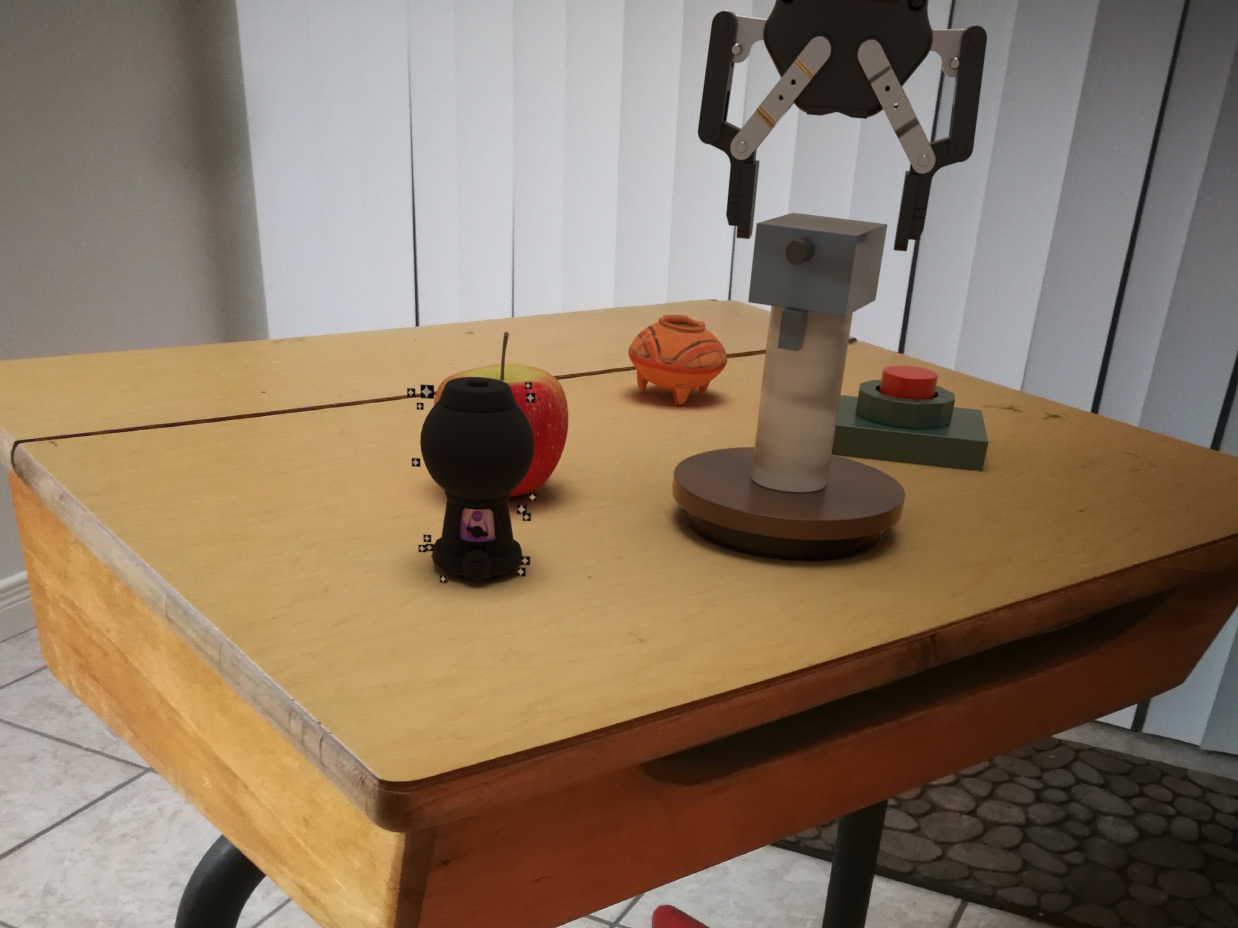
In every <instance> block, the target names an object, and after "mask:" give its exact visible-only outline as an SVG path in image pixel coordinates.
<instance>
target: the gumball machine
mask: <svg viewBox="0 0 1238 928" xmlns="http://www.w3.org/2000/svg"><path fill="white" fill-rule="evenodd" d="M419 387H420V399H426V400H427V399H430V400H435V385H434V384H420V386H419ZM525 389H532V382H525ZM406 395H407V397H408V398H410V397H411V398H416V388H415V387H414V388H413V387H412V388H411V387H407V388H406ZM535 395H536V393H526V402H531V403H535ZM416 410H417V411H418V410H419V411H424V410H425V404H424V402H416ZM419 445H420V453H421V457H422V459H423V462H424V464H425V467H426V470H427V472H428V474H429V476H430V477H431V479H432V480H433V481H434V482H435V483H436V484H437V485H438V486H439V487H440V488H441V489H442V490H443V491H444V494H445V497H446V504H445V509H444V517H443V522H442V531H441V536H440V537H439V538H437V539H436V540H435V542H434V543H432V534H422V535H423V536H422V537H423V540H422V541H423V543H425V544H417V545H418V546H417V547H418V548H417V550H418V553H427V552H431V559H432V562H433V564H434V565H435V566H437V567H438V568H439V569H441V570H443V571H446V572H448V573H451V574H456V575H460V576H463V577H464V578H466V579H469V580H477V581H478V580H480V581H481V580H487V579H488V578H490V577H492V576H493V577H494V576H499V575H500V576H501V575H504V574H507V573H510V572H513V571H515V570H516V577H526V575H527V567H521V566H531V555H530V556H529V555H528V556H527V555H525V556H524V555H523V550H522V546H521V544H520V542H518V541H517V540H516V539H515V538H514V533H513V526H512V519H511V513H510V512H511V511H510V505H509V499H510V497H509V496H510V492H511V491H513V490H514V489H515V488H516V487H517V486H518V485H519V484H520V483H521V482H522V481H523V479H524V478H525V476H526V474H527V472H528V470H529V468H530V466H531V464H532V460H533V456H534V448H535V445H534V436H533V431H532V428H531V425H530V423H529V421H528V419H527V417H526V416H525V414H524V412H523V411H522V409H521V408H520V407H519V406H518V405H517V403H516V401H515V398H514V396H513V393H512V391H511V388H510V386H509V385H508V384H507V383H505V382H504V381H501V380H497V379H492V378H485V377H461V378H456V379H452V380H449V381H448V382H447V383H446V384H445V386H444V389H443V391H442V393H441V396H440V398H439V401H438V402H437V403H436V404H435V405H434V404H433V407H432V408H431V409H430V410H429V411H428V414H427V415H426V416H425V419H424V421H423V423H422V427H421V431H420V440H419ZM411 467H413V468H414V467H415V468H419V467H420V468H421V458H420V457H411ZM528 502H533V503H534V502H538V492H529V493H528ZM516 515H522V522H532V513H531V512H528V504H527V503H526V504H525V503H518V504H516ZM439 583H444V584H445V583H448V575H439Z"/></svg>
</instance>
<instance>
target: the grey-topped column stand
mask: <svg viewBox="0 0 1238 928" xmlns="http://www.w3.org/2000/svg"><path fill="white" fill-rule="evenodd" d="M887 230H888V224H887V223H880V222H874V221H872V222H871V221H865V220H855V219H848V218H842V217H841V218H840V217H832V216H830V217H829V216H823V215H817V214H816V215H813V214H809V213H808V214H807V213H798V212H790V213H787V214H783V215H780V216H777V217H774V218H770V219H766V220H763V221H759V222H756V226H755V235H754V245H753V253H752V263H751V273H750V280H749V291H748V300H747V301H748V303H750V304H755V305H756V304H757V305H764V306H769V307H770V313H769V319H768V321H769V322H768V330H767V339H766V347H765V356H764V363H763V372H762V381H761V388H760V398H759V406H758V415H757V424H756V432H755V440H754V446H743V447H742V446H741V447H727V448H719V449H713V450H708V451H703V452H700V453H696V454H693V455H690V456H688V457H686V458H684V459H683V460H681V461H680V462H679V463H677V465H676V466H675V467H674V469H673V474H672V475H673V476H672V487H671V492H672V497H673V499H674V501H675V502H676V503H677V504H678V505H679V506H680V507H681V508H682V509H684V510H685V511H686V512H687V511H688V512H690V513H691V514H693V515H695V516H697V517H699V518H701V519H704V520H706V521H708V522H711V523H714V524H717V525H720V526H723V527H726V528H730V529H733V530H737V531H742V532H746V533H751V534H756V535H761V536H768V537H775V538H785V539H796V540H842V539H851V538H858V537H864V536H869V535H873V534H877V533H880V532H886V531H887V530H889V529H891V528H893V527H894V526H895V525H896V524H898V523H899V522H900V521H901V519H902V515H903V510H904V505H905V499H906V492H905V489H904V487H903V486H902V484H901V483H900V482H899V481H898V480H896V479H895V478H894V477H892V476H891V475H890V474H888V473H885V472H884V471H882V470H880V469H878V468H876V467H873V466H871V465H868V464H865V463H863V462H860V461H857V460H853V459H850V458H847V457H846V458H845V457H843V456H839V455H832V448H833V441H834V435H835V428H836V422H837V415H838V408H839V402H840V395H842V387H843V381H844V374H845V369H846V361H847V355H848V348H849V342H850V334H851V328H852V322H853V315H854V312H856V311H858V310H861V309H862V308H864V307H866V306H868V305H870V304H871V303H874V302H875V301H876V300H877V293H878V287H879V282H880V281H879V280H880V273H881V268H882V262H883V255H884V250H885V244H886V243H885V242H886V238H887V237H886V236H887V232H888V231H887Z"/></svg>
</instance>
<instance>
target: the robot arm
mask: <svg viewBox="0 0 1238 928" xmlns="http://www.w3.org/2000/svg"><path fill="white" fill-rule="evenodd" d="M929 18H930V17H929V0H775V3H774V5H773V8H772V10H771V12H770V14H769V16H768V17H767V18H759V17H752V16H744V15H737V14H736V13H735V12H733V11H732V10H722V11H721V10H720V11H719V12H717V13H716V14H715V15H714V16H713V18H712V20H711V25H710V26H711V27H710V34H709V40H708V41H709V42H708V49H707V57H706V64H705V71H704V80H703V87H702V94H701V101H700V102H701V103H700V111H699V118H698V124H697V125H698V126H697V137H698V138H699V141H701V142H702V143H703V144H705V145H709V146H712V147H714V148H716V149H718V150H720V151H722V152H723V153H724V154H726V156H727V157H728V159H729V163H730V165H729V168H730V169H729V180H728V191H727V201H726V202H727V203H726V211H725V217H726V221H727V224H728V226H730V227H736V239H745V240H750V239H751V238H752V235H753V230H754V221H755V210H756V200H757V191H758V181H759V173H760V172H759V171H760V160H757V153H758V152H757V150H758V148H759V147H760V146H761V145H762V143H763V142H764V141H765V140H766V139H767V137H768V136H769V135H770V134H771V132H772V131H773V130H774V128H775V127H776V126H777V125H778V124H779V122H780V121H782V119H783V118H784V117H785V116H786V114H787V112H789V111H790V109H791V108H792V106H793V105H795V106H796V108H797V109H799V110H800V111H802V112H804V113H806V115H807V116H825V115H831V114H835V113H838V114H842V115H844V116H846V117H849V118H852V119H865V120H867V119H868V118H871V117H873V116H876V115H877V114H879V113H881V112H882V111H883V112H884V114H885V115H886V118H887V120H888V122H889V124H890V126H891V128H892V130H893V132H894V133H895V135H896V137H897V140H898V142H899V144H900V145H901V148H902V149H903V151H904V154H905V155H906V157H907V160H908V161H909V170H905V172H904V178H903V185H902V191H901V198H900V203H899V211H898V216H897V223H896V229H895V235H894V243H893V251H894V252H895V251H896V252H897V251H898V252H907V251H908V248H909V247H908V246H909V242H910V241H919V240H920V238H921V235H923V232H924V229H925V223H926V216H927V212H928V206H929V200H930V199H929V198H930V195H931V187H932V182H933V178H934V176H935V175H936V173H937V172H938V171H939V170H940V169H942V168H944V167H948V166H950V165H955V164H958V163H963V162H966V161H967V160H969V159H970V157H971V156H972V155H973V153H974V147H975V138H976V130H977V122H978V115H979V107H980V98H981V90H982V83H983V74H984V67H985V60H986V52H987V43H988V42H987V41H988V33H987V31H986V30H985V28H984V27H983V26H981V25H970V26H968V27H966V28H953V29H951V28H949V29H947V28H945V29H942V28H941V29H939V28H938V29H933V28H932V26H931V23H930V19H929ZM759 41H763V43H764V47H765V49H766V51H767V53H768V55H769V57H770V59H771V61H772V63H773V65H774V68H775V69H776V71H777V73H778V75H779V77H780V79H778V82H777V83H776V84H775V85H774V87H773V88H772V89H771V90H770V91H769V93H767V95H766V97H764V99H763V100H762V101H761V103H760V104H759V105H758V107H756V109H755V111H754V112H753V114H752V115H751V116H750V117H749V119H747V121H746V122H745V123H744V125H743V126H742V127H739V126H736V125H734V124H733V123H730V122H729V121H728V114H729V107H730V100H731V94H732V86H733V80H734V79H733V78H734V71H735V64H740V63H743V62H745V61H746V60H748V58H749V56H750V54H751V51H752V48H753V47H754V45H755V44H756V43H758V42H759ZM930 52H935V53H937V55H938V56H939V57H940V60H941V69H942V72H943V73H944V75H945V76H947V77H949V78H954V86H953V95H952V103H951V111H950V112H951V113H950V121H949V129H948V136H947V137H943V138H940V139H937V140H934V141H931V142H930V141H929V139H928V136H927V135H926V132H925V131H924V129H923V127H922V125H921V122H920V121H919V118H918V117H917V114H916V112H915V110H914V108H913V106H912V104H911V102H910V99H909V98H908V96H907V94H906V92H905V90H904V87H903V86H904V85H905V84H906V83H907V82H908V81H909V79H910V78H911V76H912V75H914V73H915V72H916V71H917V69H918V68H919V67H920V66H921V64H922V63H923V62H924V61H925V59H926V58H927V57H928V55H929V54H930ZM895 104H896V105H895Z"/></svg>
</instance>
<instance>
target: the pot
mask: <svg viewBox="0 0 1238 928" xmlns="http://www.w3.org/2000/svg"><path fill="white" fill-rule="evenodd" d="M627 353H628V357H629V360H630V362H631V363H632V365H633V366H634V368H635V369H636V383H637V386H638V389H639V391H640V392H641V393H644V392H646V389H647V385H648V384H649V383H650V384H652V385H653V386H656V387H658V388H660V389H662V390H666V391H670V392H672V393H673V399H674V403H675V406H682V405H684V404H685V403H686V402H687V399H688V398H689V394H690V392H691V391H693V390H696V389H698V394H700V395H704V394H705V393H706V392H707V390H708V388H709V386H710V383H711V381H713V380H715V378H717V377H718V376H719V375H720V374H721V373H723V371H724V370H725V368H726V366H727V364H728V354H727V351H726V349H725V347H724V345H723V344H722V342H721V341H720V340H719V338H718V337H716V336H715V334H713V332H711V331H710V330H708V329H707V328H706V324H705V322H704V321H703V320H701V321H699V320H696V319H694V318H691V317H689V316H688V315H683V314H664V315H662V316H661V317H659V318H658V321H657V322H653V323H652V324H650V325H649V326H647V327H645V328H644V329H643V330H641V331H640V332H639V333H638V334H637V335H636V336H635V338H634V339H633V340H632V342H631V344H630V345H629V347H628V350H627Z"/></svg>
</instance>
